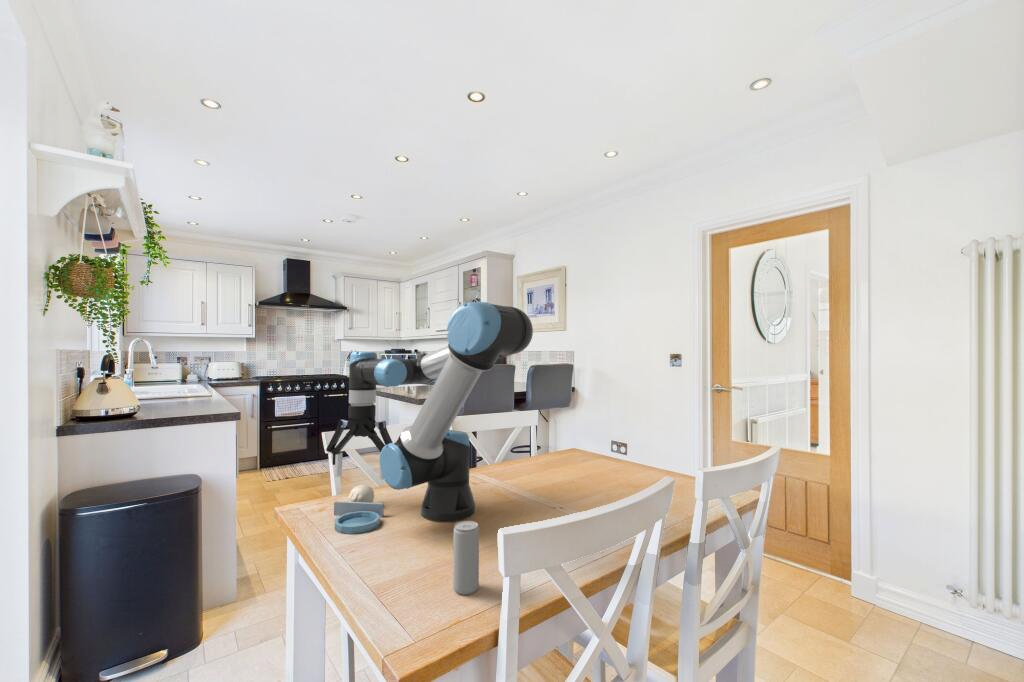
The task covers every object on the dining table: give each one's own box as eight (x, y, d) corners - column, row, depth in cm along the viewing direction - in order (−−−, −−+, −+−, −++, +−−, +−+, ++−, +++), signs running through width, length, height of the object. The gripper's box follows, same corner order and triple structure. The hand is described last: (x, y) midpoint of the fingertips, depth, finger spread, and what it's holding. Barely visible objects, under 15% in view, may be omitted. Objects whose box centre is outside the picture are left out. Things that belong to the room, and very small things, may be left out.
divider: (383, 515, 122) (383, 503, 122) (382, 517, 121) (382, 504, 121) (335, 513, 124) (335, 501, 124) (333, 515, 123) (334, 502, 123)
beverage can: (453, 583, 86) (454, 520, 87) (478, 582, 87) (478, 520, 87) (452, 596, 81) (453, 530, 82) (478, 595, 82) (479, 529, 82)
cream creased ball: (342, 511, 126) (342, 487, 126) (360, 503, 133) (360, 480, 133) (361, 514, 124) (361, 490, 124) (378, 506, 130) (378, 483, 131)
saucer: (386, 518, 120) (386, 512, 120) (368, 535, 109) (368, 527, 109) (347, 517, 121) (347, 510, 121) (326, 532, 111) (326, 525, 111)
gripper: (407, 404, 132) (406, 475, 131) (328, 401, 135) (326, 471, 134) (398, 407, 124) (396, 483, 124) (315, 404, 127) (313, 478, 127)
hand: (360, 477), depth 129 cm, fingers open, 13 cm apart
